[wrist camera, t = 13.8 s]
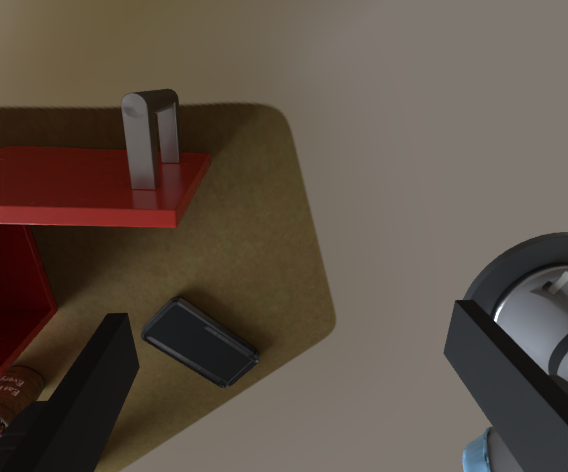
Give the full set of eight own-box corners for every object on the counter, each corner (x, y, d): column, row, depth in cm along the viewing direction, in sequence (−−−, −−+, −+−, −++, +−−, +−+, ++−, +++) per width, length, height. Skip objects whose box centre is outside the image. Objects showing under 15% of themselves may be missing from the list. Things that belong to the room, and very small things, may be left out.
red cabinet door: (-7, 77, 33) (-260, 75, 17) (208, 89, 35) (167, 98, 18) (14, 156, 36) (-183, 220, 20) (210, 164, 38) (176, 228, 22)
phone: (225, 390, 50) (136, 336, 45) (226, 384, 51) (139, 330, 46) (263, 358, 48) (174, 298, 43) (262, 352, 49) (176, 293, 44)
